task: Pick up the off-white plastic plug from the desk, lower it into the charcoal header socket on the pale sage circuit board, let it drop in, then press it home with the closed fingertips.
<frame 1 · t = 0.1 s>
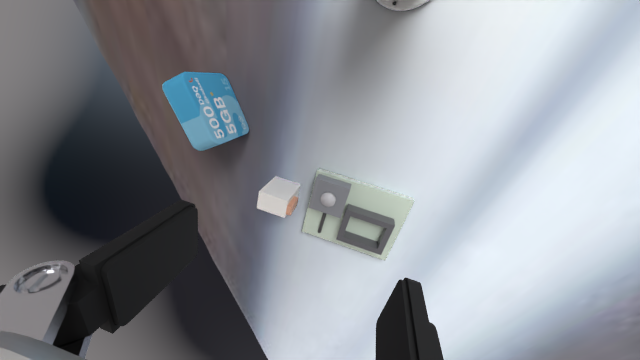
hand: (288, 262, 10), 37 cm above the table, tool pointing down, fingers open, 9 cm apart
board: (353, 214, 51), on the table
data package: (231, 107, 48), on the table
plug: (286, 187, 52), on the table
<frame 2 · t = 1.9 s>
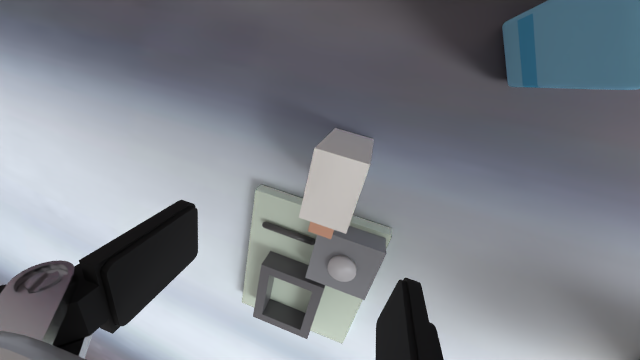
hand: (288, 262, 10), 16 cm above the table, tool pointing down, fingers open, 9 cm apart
board: (306, 266, 31), on the table
data package: (595, 23, 16), on the table
plug: (346, 160, 24), on the table
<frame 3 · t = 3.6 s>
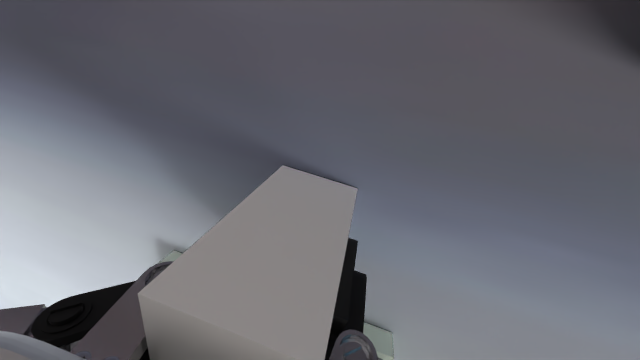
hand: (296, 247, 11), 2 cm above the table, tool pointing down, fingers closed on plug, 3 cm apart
plug: (307, 223, 13), on the table, touching gripper
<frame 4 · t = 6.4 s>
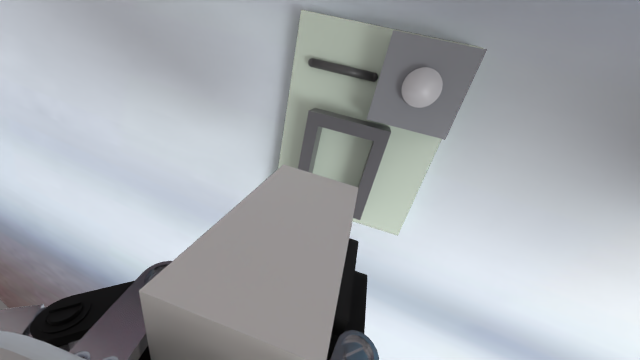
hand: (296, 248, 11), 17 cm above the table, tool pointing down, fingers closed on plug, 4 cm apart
board: (357, 135, 26), on the table
plug: (308, 222, 13), point 15 cm above the table, touching gripper
when the fingers open (5 cm above the table, at t = 9.2 s): plug drops 1 cm, resting on board.
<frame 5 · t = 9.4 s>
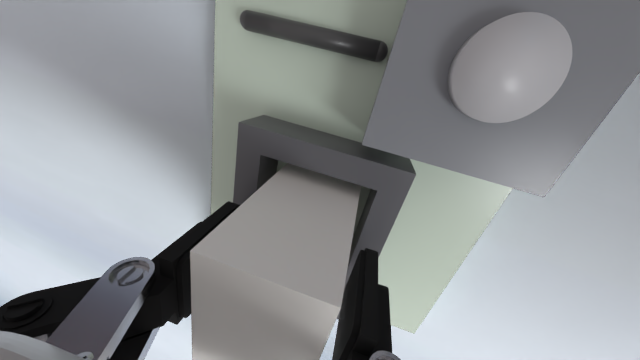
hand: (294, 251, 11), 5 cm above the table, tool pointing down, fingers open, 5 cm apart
board: (345, 164, 14), on the table
plug: (315, 211, 14), point 1 cm above the table, touching board
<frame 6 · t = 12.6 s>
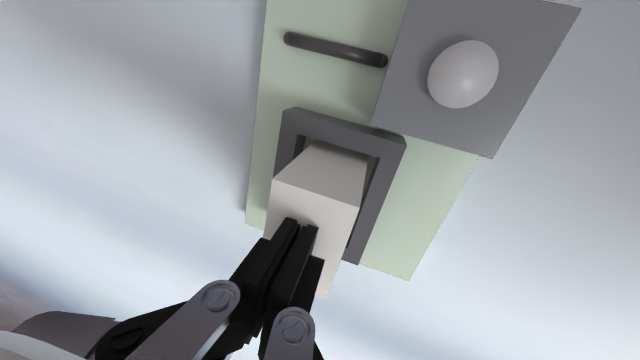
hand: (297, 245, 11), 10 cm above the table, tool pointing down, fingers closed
board: (355, 145, 18), on the table
plug: (332, 181, 18), point 2 cm above the table, touching board, gripper
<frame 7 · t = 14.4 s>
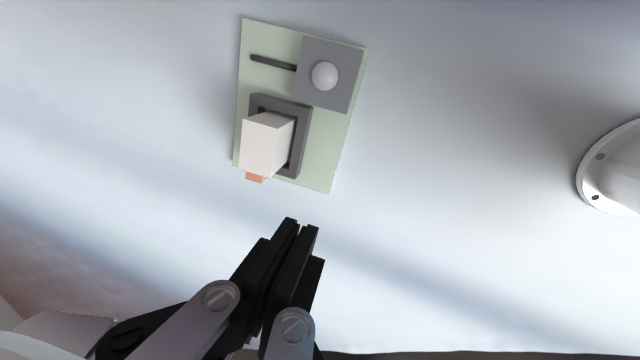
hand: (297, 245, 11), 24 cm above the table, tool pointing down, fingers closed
board: (293, 114, 33), on the table
plug: (281, 134, 33), point 1 cm above the table, touching board
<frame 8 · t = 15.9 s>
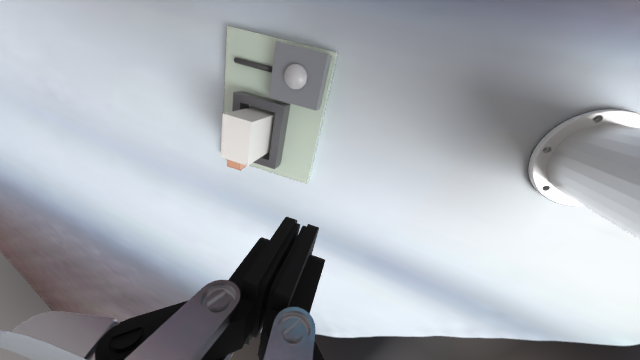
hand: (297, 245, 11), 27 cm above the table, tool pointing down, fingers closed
board: (274, 111, 37), on the table
plug: (263, 129, 37), point 1 cm above the table, touching board
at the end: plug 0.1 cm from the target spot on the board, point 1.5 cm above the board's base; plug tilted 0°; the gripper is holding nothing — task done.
